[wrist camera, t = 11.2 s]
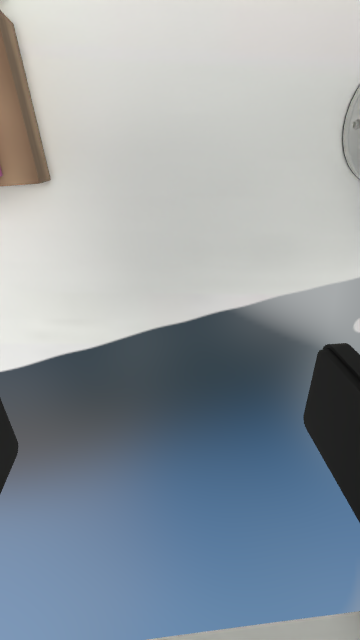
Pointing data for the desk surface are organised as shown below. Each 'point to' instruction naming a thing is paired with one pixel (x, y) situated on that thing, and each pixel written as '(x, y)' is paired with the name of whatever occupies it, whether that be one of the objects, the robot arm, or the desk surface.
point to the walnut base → (17, 117)
